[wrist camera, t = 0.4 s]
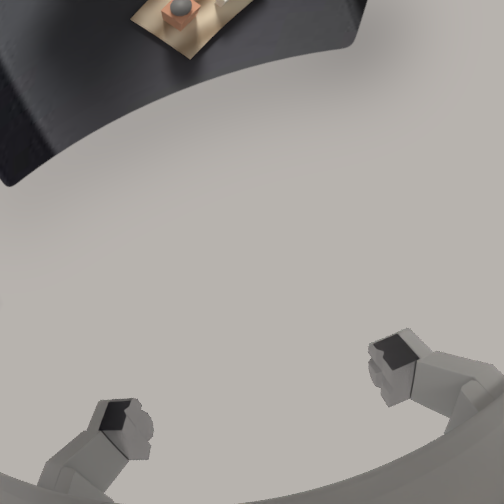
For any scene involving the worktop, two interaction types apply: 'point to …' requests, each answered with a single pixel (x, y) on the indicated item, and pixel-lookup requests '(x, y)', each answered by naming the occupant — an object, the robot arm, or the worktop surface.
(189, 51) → the base board
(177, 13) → the plug
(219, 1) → the socket
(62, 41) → the worktop surface
